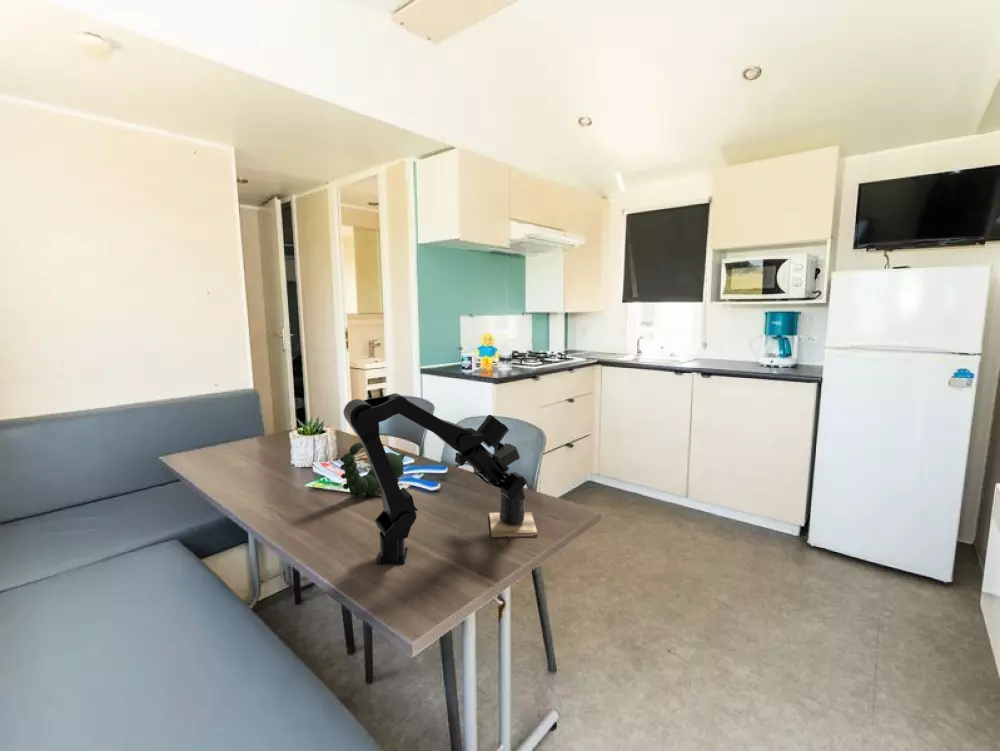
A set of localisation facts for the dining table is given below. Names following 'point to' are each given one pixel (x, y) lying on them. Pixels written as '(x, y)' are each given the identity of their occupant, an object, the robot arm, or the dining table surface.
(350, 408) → the robot arm
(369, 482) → the toy figurine
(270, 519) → the dining table surface
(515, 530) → the coaster
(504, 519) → the supplement bottle
